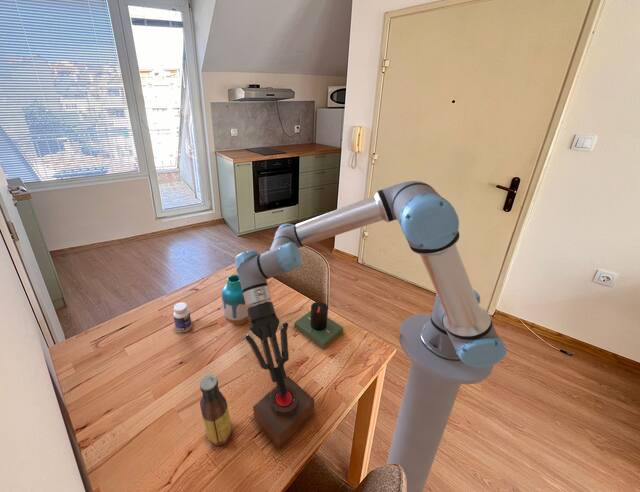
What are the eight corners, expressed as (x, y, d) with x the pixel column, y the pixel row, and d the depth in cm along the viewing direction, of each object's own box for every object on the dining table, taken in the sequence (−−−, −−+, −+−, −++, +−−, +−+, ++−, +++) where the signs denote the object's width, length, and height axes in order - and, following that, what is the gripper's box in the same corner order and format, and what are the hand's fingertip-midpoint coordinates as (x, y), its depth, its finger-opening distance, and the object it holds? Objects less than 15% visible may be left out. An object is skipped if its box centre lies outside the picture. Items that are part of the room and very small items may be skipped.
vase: (256, 313, 117) (253, 273, 109) (244, 332, 107) (241, 289, 100) (232, 307, 120) (228, 268, 112) (219, 325, 111) (213, 283, 103)
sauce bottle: (232, 420, 79) (225, 368, 71) (231, 445, 73) (224, 392, 65) (207, 423, 78) (198, 371, 70) (204, 449, 72) (194, 395, 64)
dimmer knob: (311, 317, 111) (312, 299, 107) (327, 320, 109) (329, 302, 106) (308, 328, 105) (309, 310, 102) (325, 332, 104) (326, 313, 100)
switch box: (287, 388, 87) (287, 370, 84) (313, 412, 80) (314, 394, 77) (253, 419, 79) (252, 401, 76) (279, 449, 72) (279, 430, 69)
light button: (284, 391, 80) (284, 386, 79) (295, 403, 77) (295, 398, 76) (272, 402, 77) (272, 397, 77) (283, 414, 75) (283, 409, 74)
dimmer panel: (342, 332, 107) (343, 327, 106) (323, 349, 100) (323, 343, 99) (313, 313, 116) (313, 308, 115) (294, 327, 109) (294, 321, 108)
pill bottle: (189, 333, 107) (185, 311, 103) (173, 333, 108) (169, 311, 103) (193, 321, 113) (190, 301, 109) (179, 321, 113) (175, 301, 109)
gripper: (239, 309, 78) (263, 406, 71) (283, 296, 83) (310, 386, 75) (235, 312, 85) (256, 401, 77) (276, 300, 89) (300, 383, 82)
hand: (283, 393), depth 76 cm, fingers closed
